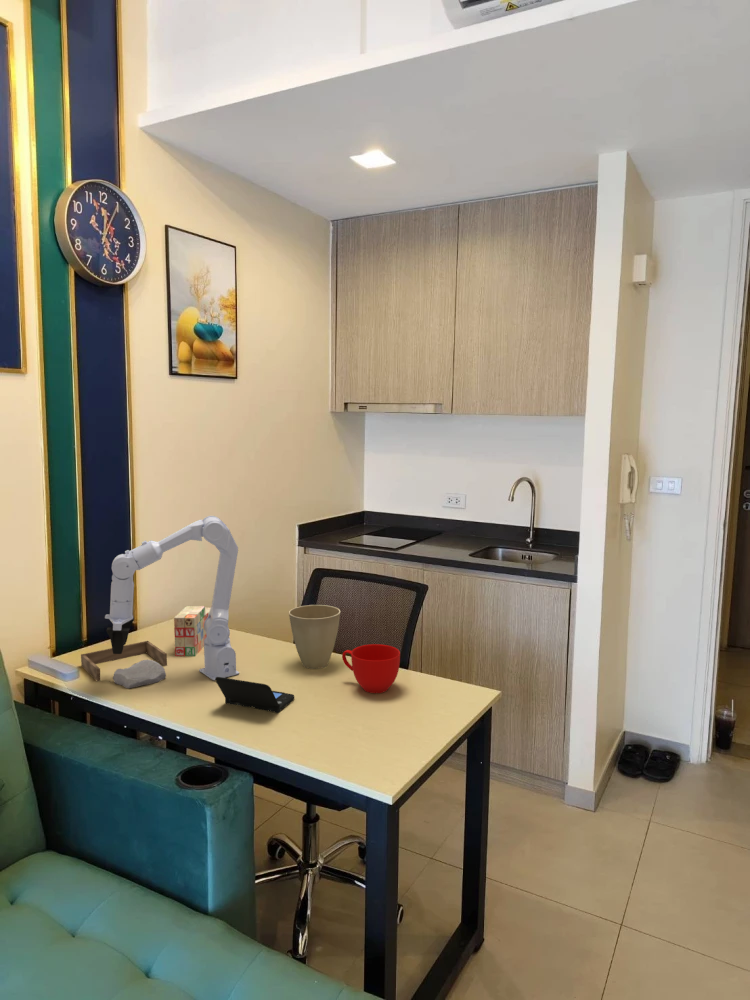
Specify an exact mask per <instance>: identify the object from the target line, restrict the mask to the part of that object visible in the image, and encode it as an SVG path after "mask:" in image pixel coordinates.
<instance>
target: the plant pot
mask: <svg viewBox="0 0 750 1000" xmlns="http://www.w3.org/2000/svg"><path fill="white" fill-rule="evenodd" d="M288 617H289V622H290V628H291V632H292V638H293V641H294V645H295V649H296V651H297V653H298V654H297V655H298V657H299V659H300V662H301V664H302V666H303V667H304V668H306V669H310V670H311V669H312V670H314V669H315V670H317V669H323V668H325V667H327V666H328V664H329V662H330V659H331V656H332V653H333V651H334V648H335V643H336V639H337V635H338V631H339V626H340V617H341V610H340V608H339V607H336V606H332V605H324V604H309V605H301V606H298V607H297V606H296V607H294V608H291V609H290V610H289V611H288Z"/></svg>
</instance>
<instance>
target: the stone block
mask: <svg viewBox="0 0 750 1000" xmlns="http://www.w3.org/2000/svg"><path fill="white" fill-rule="evenodd" d="M166 677H167V673H166V670H165V668H164V665H162V664H161V663H160V662H158V661H155V660H153V659H143V660H140V661H139V662H136V663H133V664H132V665H131V666H129V667H125V668H117V669H116V670H115V671H114V673H113V676H112V679H113V682H114V684H117V685H120V686H123V688H126V689H132V688H136V687H137V688H138V687H141V686H147V685H151V684H155V683H159V682H160V681H163V680H164V679H166Z"/></svg>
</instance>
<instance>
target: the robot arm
mask: <svg viewBox="0 0 750 1000" xmlns="http://www.w3.org/2000/svg"><path fill="white" fill-rule="evenodd" d="M202 537H203V538H204V539H205V541H207V542H208V543H209V544H212V545H213V546H214V547H215V548H216V549H217V550H218V551H219V559H218V564H217V571H216V577H215V582H214V589H213V596H212V601H211V606H210V607H211V608H210V612H209V616H208V617H207V619H206V620H205V622H204V629H205V631H206V635H207V637H206V638H205V640H204V647H203V649H204V650H203V655H204V657H203V659H204V667H202V668H199V669H198V670H199V672H200V673H201V674H203V675H205V676H206V677H207V678H209V679H210V680H212V681H215V678H216V677H222V678H228V677H232V676H237V675H239V674H240V671H238V670H237V653H236V650H235V649H234V648H233V647H232V645H231V638H230V634H231V632H230V628H229V609H230V603H231V597H232V589H233V583H234V578H235V573H236V572H235V571H236V566H237V560H238V553H239V547H238V544H237V542H236V541H235V539H234V536H233V535H232V533H231V531H230V528H229V527H228V526H227V524H225V522H224V521H222V519H220V518H219V517H218V516H215V515H208V516H205V517H204V518H203V519H198V520H196V521H194V522H192V523H190V524H188V525H186V526H184V527H183V528H180V529H178V530H177V531H175V532H173V533H171V534H169V535H167V536H166V537H165V538H162V539H161V540H159V541H154V540H149V541H147V540H142V542H141V544H140V545H139V546H136V547H135V548H133V549H131V550H129V549H127V550H125V551H124V553H121V554H118V555H116V557H114V559H113V560H112V563H111V571H112V575H111V580H112V581H111V583H110V584H111V585H110V601H109V602H110V604H109V605H110V606H109V614H105V615H104V619H107V620H109V621H110V622H111V623H112V626H107V628H106V633H107V635H108V637H109V640H110V644H111V648H112V650H113V654H122V651H123V647H124V646H125V645H126V644H127V641H128V637H129V633H130V630H131V626H132V624H133V623H134V620H135V617H134V614H133V611H134V591H135V590H134V588H135V587H134V585H135V582H134V574H135V573H136V571H140V570H142V569H144V568H147V567H148V566H150V565H152V564H154V563H156V562H158V561H159V560H161V559H162V557H163V554H164V553H165V552H168V551H169V550H172V549H174V548H176V547H177V546H180V545H183V544H184V543H186V542H188V541H199V542H202V541H203V538H202Z"/></svg>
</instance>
